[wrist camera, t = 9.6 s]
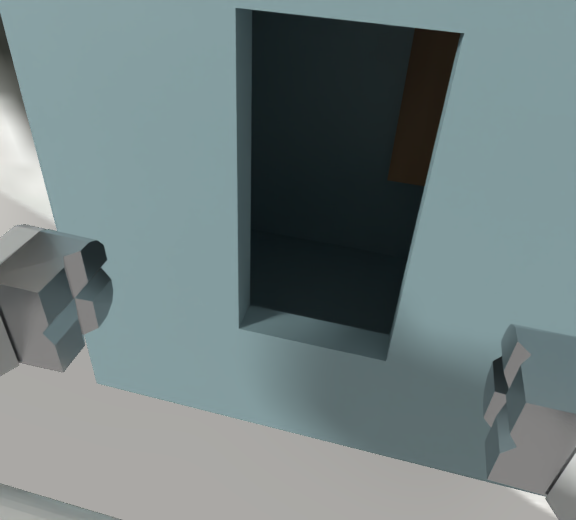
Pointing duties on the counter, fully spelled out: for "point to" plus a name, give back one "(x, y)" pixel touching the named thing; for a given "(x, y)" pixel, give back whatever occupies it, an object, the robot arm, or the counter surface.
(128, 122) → the box
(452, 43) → the brown rectangular block
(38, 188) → the counter surface
